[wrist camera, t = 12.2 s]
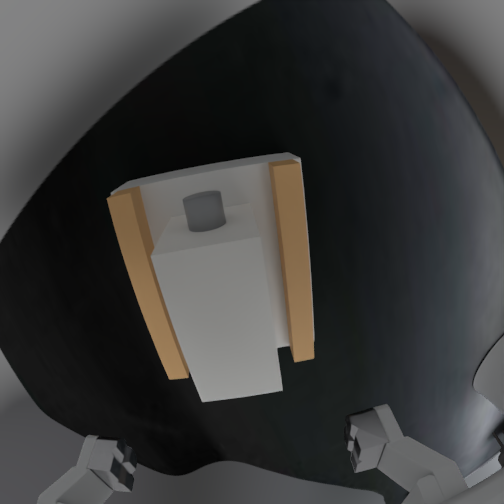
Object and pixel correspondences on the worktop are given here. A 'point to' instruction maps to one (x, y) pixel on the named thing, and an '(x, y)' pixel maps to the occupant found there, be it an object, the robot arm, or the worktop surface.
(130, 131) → the worktop surface
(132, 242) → the white tray with rails
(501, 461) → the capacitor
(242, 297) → the white block with knob
